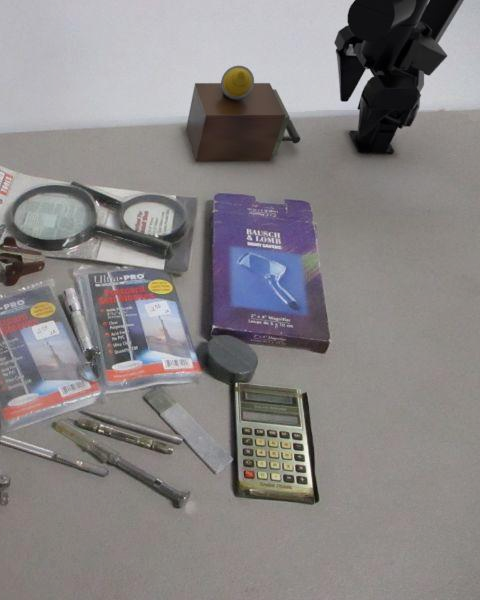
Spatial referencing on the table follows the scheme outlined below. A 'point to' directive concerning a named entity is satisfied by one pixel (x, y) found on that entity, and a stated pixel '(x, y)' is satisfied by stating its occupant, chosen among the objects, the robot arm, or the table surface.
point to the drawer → (285, 128)
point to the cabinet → (233, 124)
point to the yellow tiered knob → (237, 82)
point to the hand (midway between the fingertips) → (352, 117)
